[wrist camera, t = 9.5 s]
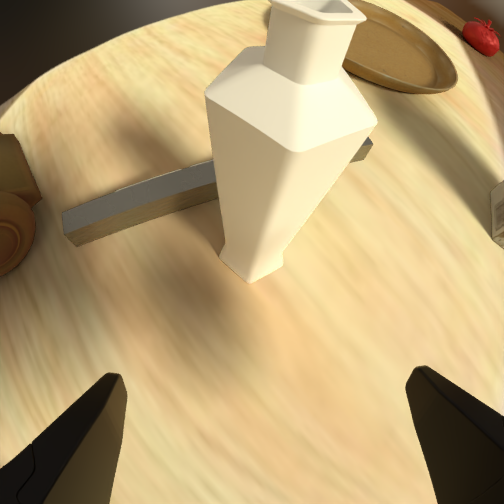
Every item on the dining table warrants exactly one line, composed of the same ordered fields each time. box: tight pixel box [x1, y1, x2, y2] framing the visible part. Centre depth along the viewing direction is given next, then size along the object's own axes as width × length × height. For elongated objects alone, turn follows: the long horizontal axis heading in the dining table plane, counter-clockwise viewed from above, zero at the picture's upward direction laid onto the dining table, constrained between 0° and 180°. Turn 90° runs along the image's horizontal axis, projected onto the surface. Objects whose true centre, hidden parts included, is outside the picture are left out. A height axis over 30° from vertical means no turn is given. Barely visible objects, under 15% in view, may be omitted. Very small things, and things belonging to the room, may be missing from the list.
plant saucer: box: [342, 0, 458, 94], centre depth 29 cm, size 24×24×3 cm
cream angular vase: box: [204, 0, 378, 283], centre depth 12 cm, size 5×4×15 cm
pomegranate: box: [462, 18, 499, 57], centre depth 38 cm, size 10×10×9 cm
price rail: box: [62, 137, 373, 247], centre depth 19 cm, size 2×22×2 cm, turn 111°
